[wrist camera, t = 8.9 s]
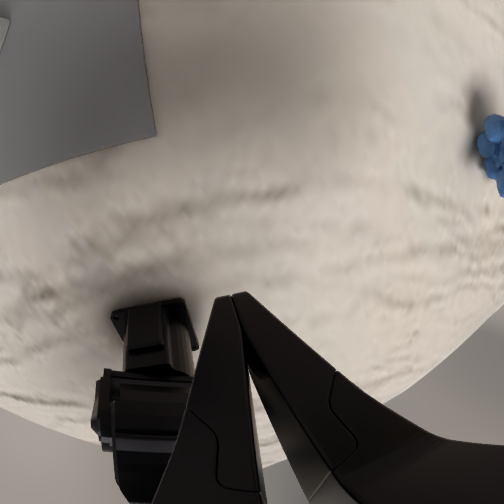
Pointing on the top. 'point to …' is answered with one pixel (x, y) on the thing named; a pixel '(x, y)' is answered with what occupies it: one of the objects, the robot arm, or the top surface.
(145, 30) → the top surface
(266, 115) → the top surface
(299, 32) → the top surface
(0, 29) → the skincare box
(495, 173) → the grapes
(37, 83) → the rubber mat
